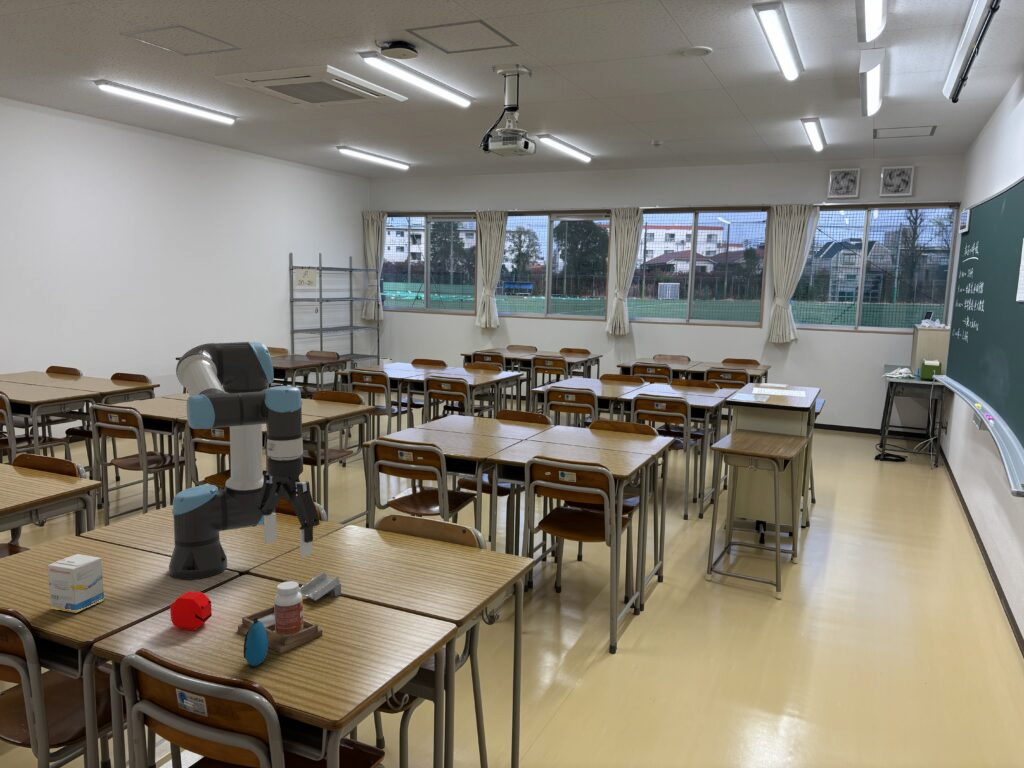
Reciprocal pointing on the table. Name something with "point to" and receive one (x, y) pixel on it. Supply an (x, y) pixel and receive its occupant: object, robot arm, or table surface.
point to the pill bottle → (288, 609)
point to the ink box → (75, 582)
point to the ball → (190, 610)
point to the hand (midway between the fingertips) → (288, 548)
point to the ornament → (256, 643)
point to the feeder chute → (321, 587)
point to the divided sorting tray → (275, 639)
